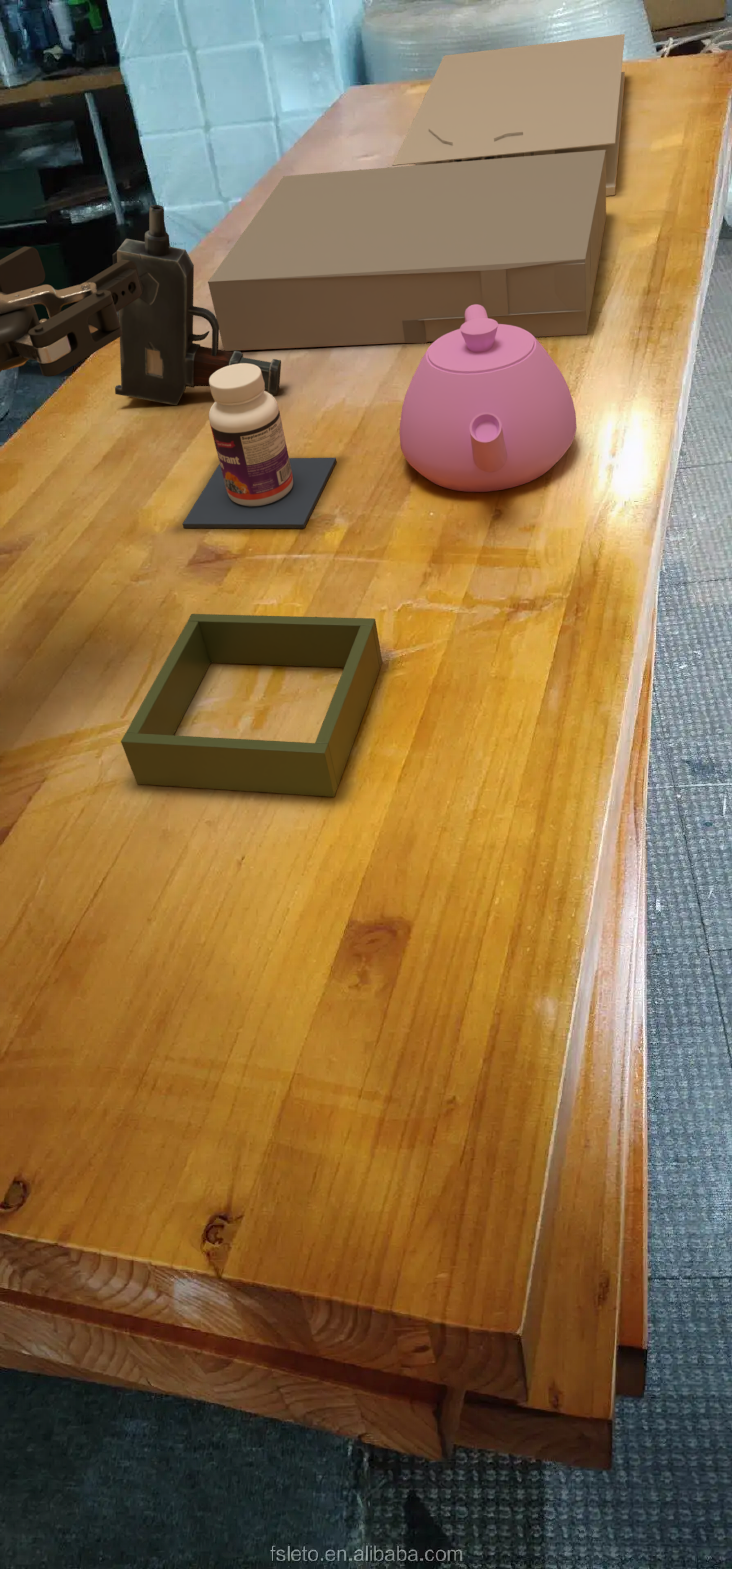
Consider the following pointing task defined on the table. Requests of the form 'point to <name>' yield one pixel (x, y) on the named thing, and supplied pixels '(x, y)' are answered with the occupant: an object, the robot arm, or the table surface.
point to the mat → (282, 513)
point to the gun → (169, 325)
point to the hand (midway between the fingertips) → (84, 268)
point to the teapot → (486, 408)
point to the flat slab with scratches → (522, 104)
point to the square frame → (245, 760)
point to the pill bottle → (249, 436)
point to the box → (416, 253)
